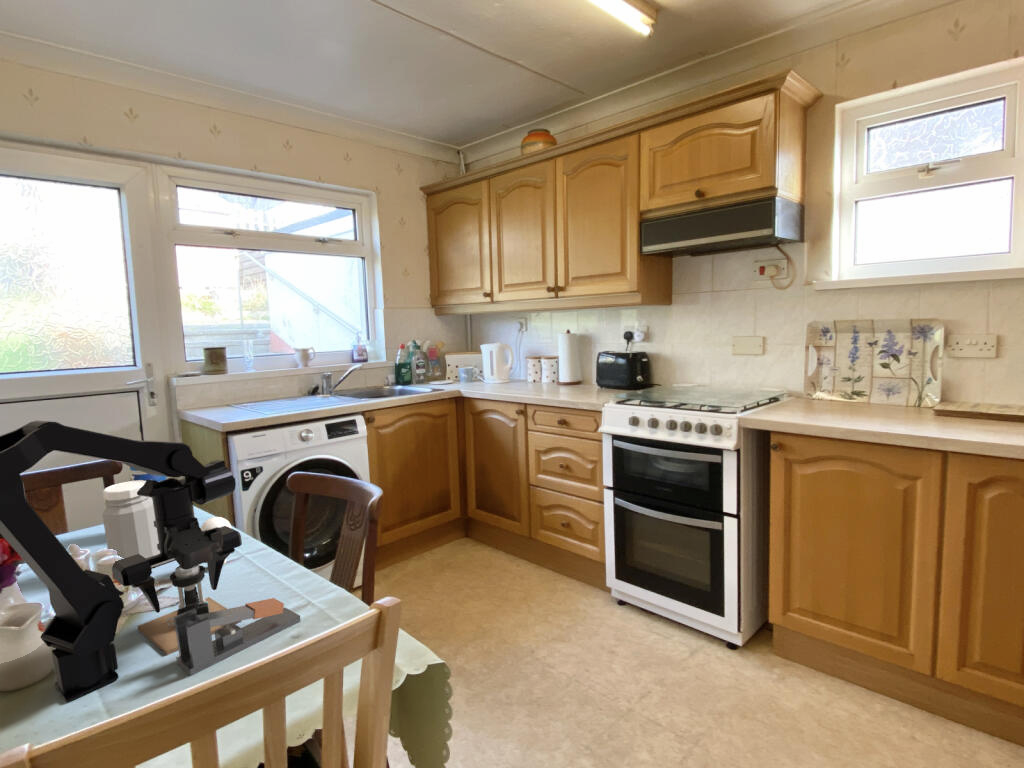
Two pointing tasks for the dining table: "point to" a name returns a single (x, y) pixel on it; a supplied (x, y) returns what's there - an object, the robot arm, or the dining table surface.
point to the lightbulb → (215, 524)
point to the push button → (189, 590)
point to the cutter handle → (244, 612)
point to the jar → (129, 520)
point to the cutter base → (222, 638)
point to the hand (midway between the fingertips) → (186, 600)
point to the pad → (171, 629)
